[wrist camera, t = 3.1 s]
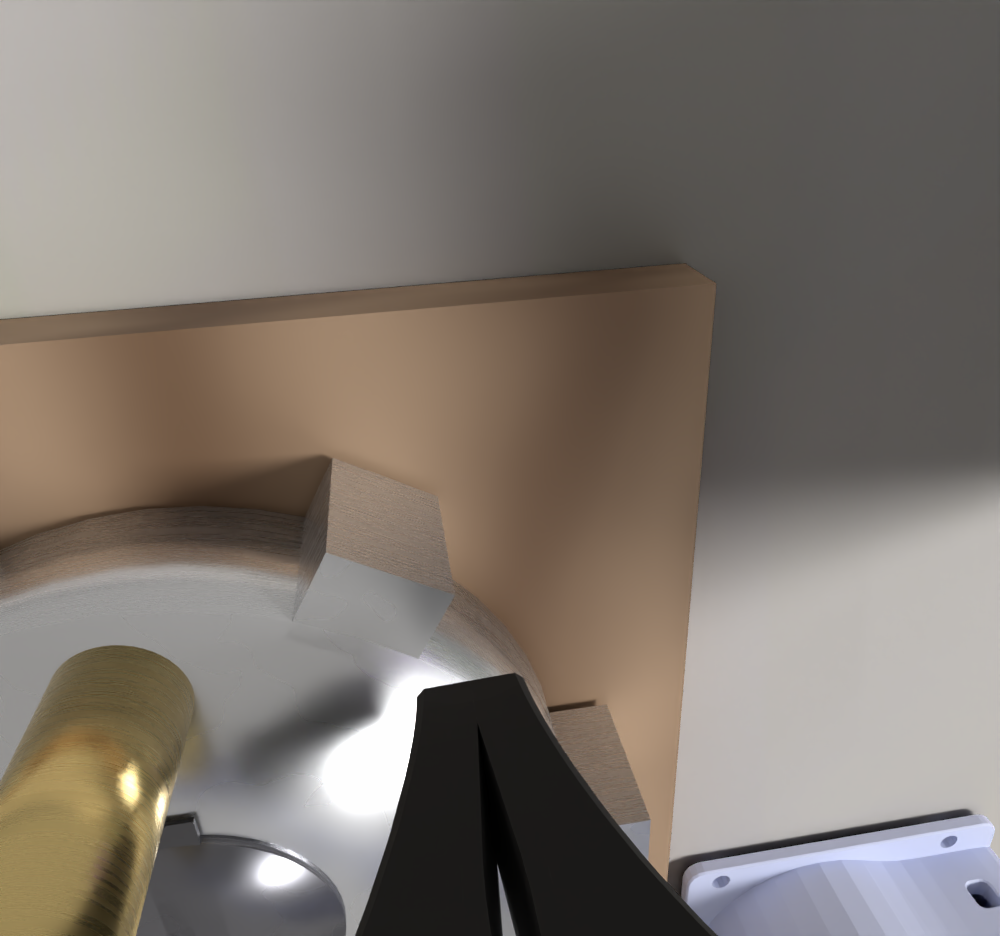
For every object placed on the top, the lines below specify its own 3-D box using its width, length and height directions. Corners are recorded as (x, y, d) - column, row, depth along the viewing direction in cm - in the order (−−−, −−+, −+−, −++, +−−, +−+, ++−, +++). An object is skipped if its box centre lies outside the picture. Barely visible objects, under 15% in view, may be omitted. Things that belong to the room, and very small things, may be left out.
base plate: (684, 263, 15) (720, 286, 13) (642, 928, 24) (661, 986, 23) (-536, 363, 13) (-656, 405, 11) (-66, 1056, 22) (-97, 1129, 20)
